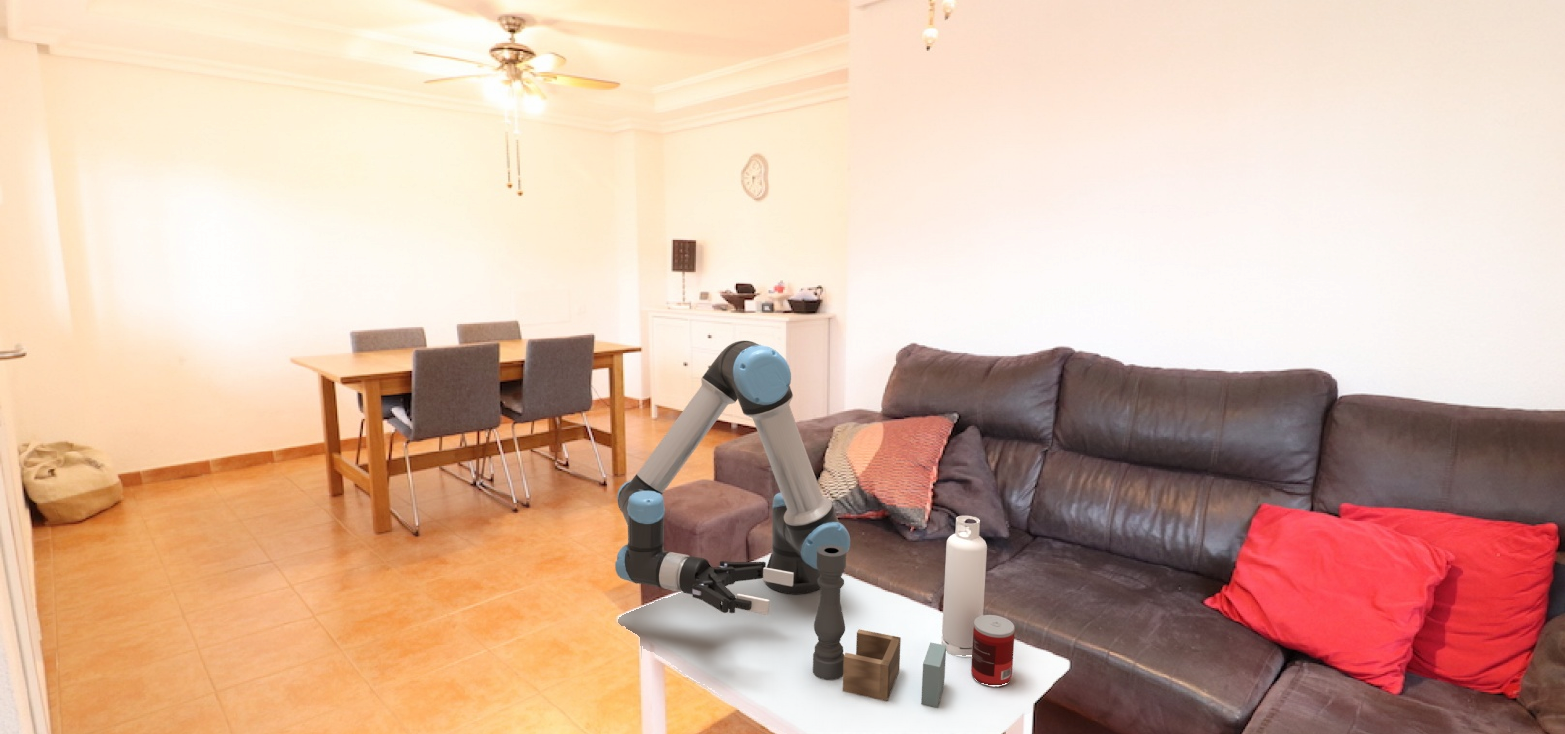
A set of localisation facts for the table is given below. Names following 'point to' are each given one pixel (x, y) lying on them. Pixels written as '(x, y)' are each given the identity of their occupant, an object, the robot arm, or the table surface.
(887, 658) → the cradle
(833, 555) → the candle holder
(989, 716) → the table surface
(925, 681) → the block
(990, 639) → the canned food
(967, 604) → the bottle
